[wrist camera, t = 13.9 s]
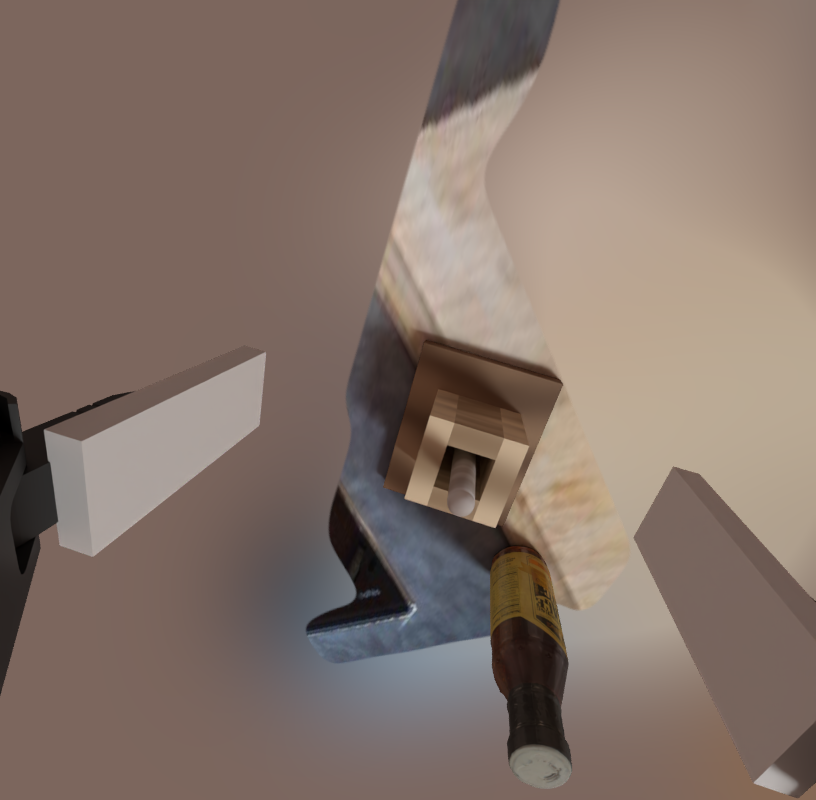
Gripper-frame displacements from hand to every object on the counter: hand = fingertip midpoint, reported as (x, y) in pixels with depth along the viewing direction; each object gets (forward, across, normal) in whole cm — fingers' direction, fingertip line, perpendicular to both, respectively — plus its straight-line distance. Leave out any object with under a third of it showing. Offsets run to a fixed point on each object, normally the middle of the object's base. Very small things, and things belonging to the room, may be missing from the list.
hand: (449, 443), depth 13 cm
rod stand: (+26, +2, -12) cm, 29 cm away
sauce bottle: (+26, +12, -25) cm, 38 cm away
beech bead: (+25, +2, -12) cm, 27 cm away
